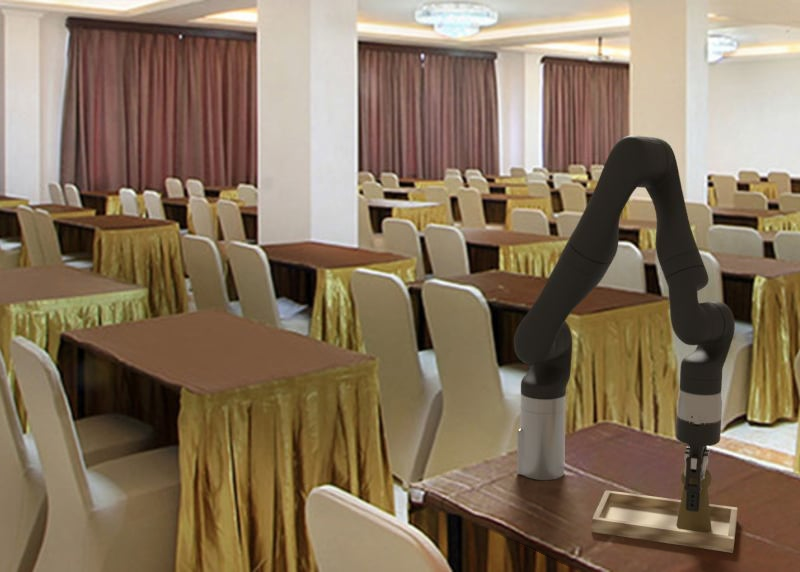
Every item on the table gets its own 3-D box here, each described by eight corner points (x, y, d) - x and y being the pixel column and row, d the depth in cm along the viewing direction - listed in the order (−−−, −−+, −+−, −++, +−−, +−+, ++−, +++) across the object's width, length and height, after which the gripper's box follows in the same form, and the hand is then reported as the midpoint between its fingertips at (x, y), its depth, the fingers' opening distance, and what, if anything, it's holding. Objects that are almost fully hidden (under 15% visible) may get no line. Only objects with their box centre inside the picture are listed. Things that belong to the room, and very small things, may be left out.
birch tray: (591, 531, 172) (592, 518, 171) (605, 502, 184) (605, 490, 184) (733, 552, 163) (733, 539, 162) (736, 520, 176) (737, 507, 175)
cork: (671, 520, 175) (673, 463, 173) (703, 519, 175) (706, 461, 173) (683, 534, 169) (686, 475, 167) (716, 533, 169) (719, 474, 167)
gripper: (680, 400, 176) (676, 484, 179) (672, 424, 163) (668, 513, 166) (723, 405, 173) (719, 489, 176) (718, 429, 160) (713, 520, 163)
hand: (694, 501), depth 171 cm, fingers open, 8 cm apart
